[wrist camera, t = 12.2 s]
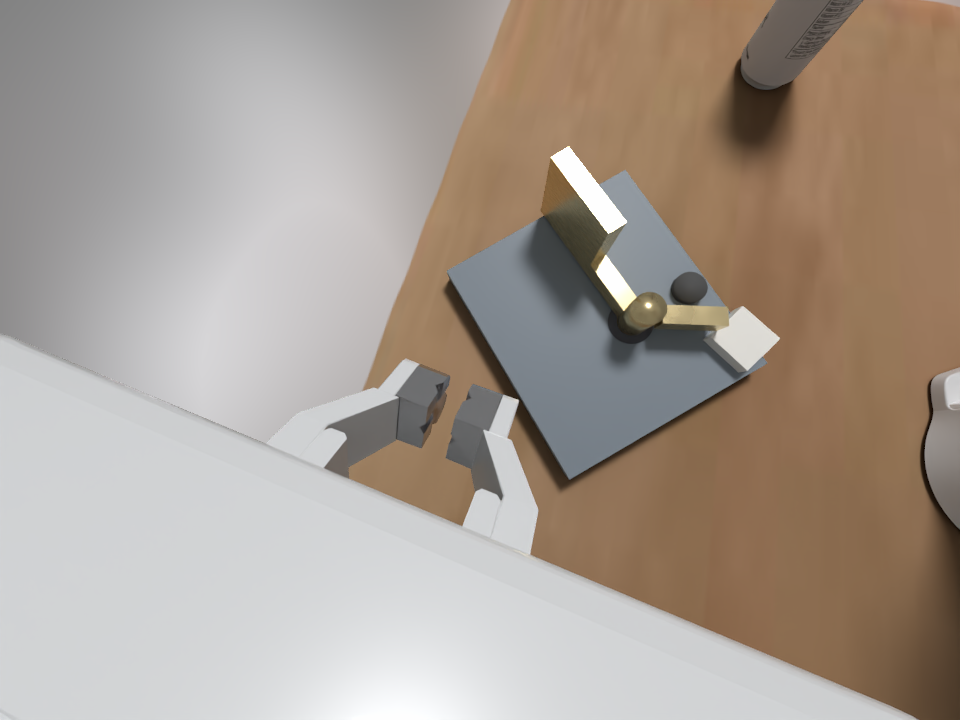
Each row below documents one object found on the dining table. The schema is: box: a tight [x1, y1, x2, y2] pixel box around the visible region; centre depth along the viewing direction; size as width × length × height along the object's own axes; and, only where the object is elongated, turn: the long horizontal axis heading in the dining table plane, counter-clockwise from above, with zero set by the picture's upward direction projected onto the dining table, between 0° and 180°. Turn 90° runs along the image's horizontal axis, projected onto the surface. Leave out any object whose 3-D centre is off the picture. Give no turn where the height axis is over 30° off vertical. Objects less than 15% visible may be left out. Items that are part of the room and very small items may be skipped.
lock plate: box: [447, 170, 767, 480], centre depth 34 cm, size 20×22×2 cm
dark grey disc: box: [671, 272, 708, 305], centre depth 32 cm, size 3×3×1 cm
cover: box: [703, 306, 780, 373], centre depth 31 cm, size 4×4×1 cm
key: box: [541, 147, 729, 336], centre depth 29 cm, size 19×6×7 cm, turn 47°
